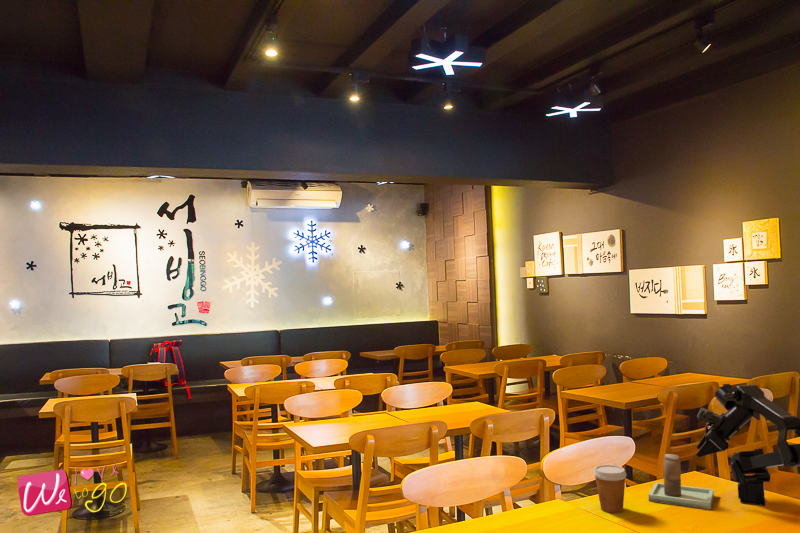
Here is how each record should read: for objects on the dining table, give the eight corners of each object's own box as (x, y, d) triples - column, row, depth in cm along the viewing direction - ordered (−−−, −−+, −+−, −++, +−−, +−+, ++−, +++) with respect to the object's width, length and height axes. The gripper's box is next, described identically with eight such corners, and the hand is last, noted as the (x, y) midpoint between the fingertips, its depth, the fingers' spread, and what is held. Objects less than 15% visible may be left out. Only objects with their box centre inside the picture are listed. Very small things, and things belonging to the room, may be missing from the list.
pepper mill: (684, 494, 185) (683, 456, 185) (676, 498, 182) (675, 458, 182) (669, 490, 189) (668, 452, 189) (661, 493, 186) (660, 455, 186)
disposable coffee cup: (631, 515, 173) (628, 474, 173) (597, 514, 175) (594, 473, 175) (625, 504, 182) (623, 464, 182) (593, 503, 184) (591, 464, 184)
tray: (714, 495, 185) (713, 489, 185) (710, 509, 174) (709, 502, 174) (655, 488, 194) (655, 482, 195) (648, 501, 183) (648, 494, 184)
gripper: (712, 394, 195) (677, 426, 200) (713, 405, 178) (675, 439, 183) (741, 420, 191) (705, 451, 196) (745, 433, 174) (705, 467, 179)
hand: (697, 452), depth 188 cm, fingers open, 9 cm apart
